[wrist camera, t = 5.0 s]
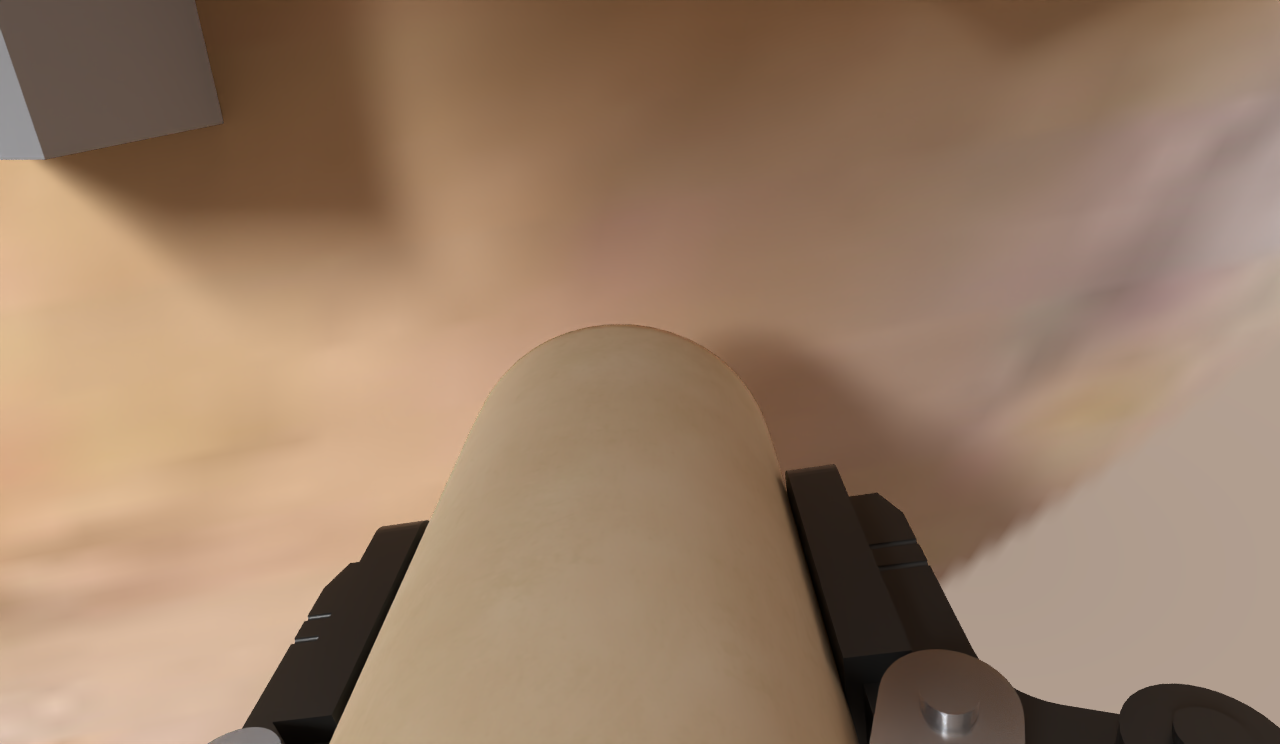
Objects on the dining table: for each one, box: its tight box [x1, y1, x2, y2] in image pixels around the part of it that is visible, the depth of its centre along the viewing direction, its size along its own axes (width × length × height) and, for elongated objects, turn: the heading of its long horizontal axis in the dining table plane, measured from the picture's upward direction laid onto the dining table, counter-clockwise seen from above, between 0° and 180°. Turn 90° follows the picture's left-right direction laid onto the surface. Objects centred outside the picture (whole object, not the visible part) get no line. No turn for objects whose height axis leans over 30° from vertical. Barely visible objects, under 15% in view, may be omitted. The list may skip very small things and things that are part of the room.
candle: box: [329, 325, 859, 744], centre depth 9 cm, size 6×6×10 cm
